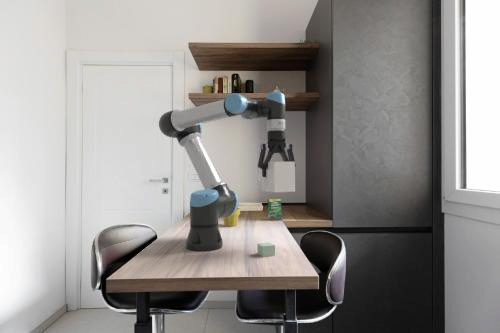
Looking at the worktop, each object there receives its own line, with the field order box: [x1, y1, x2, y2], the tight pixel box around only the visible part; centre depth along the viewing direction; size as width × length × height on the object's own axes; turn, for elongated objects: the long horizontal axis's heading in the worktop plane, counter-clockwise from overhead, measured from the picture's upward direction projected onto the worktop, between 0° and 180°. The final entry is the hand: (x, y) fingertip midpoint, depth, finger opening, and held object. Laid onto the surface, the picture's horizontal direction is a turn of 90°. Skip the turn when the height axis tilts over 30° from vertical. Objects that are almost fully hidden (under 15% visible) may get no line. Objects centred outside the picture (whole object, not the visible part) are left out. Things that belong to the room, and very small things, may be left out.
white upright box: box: [259, 161, 296, 193], centre depth 135 cm, size 9×13×12 cm
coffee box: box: [267, 198, 282, 221], centre depth 203 cm, size 8×3×13 cm, turn 101°
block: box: [257, 242, 276, 258], centre depth 124 cm, size 5×5×4 cm
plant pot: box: [222, 207, 241, 228], centre depth 184 cm, size 10×10×10 cm
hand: (277, 184), depth 135 cm, fingers closed on white upright box, 9 cm apart
